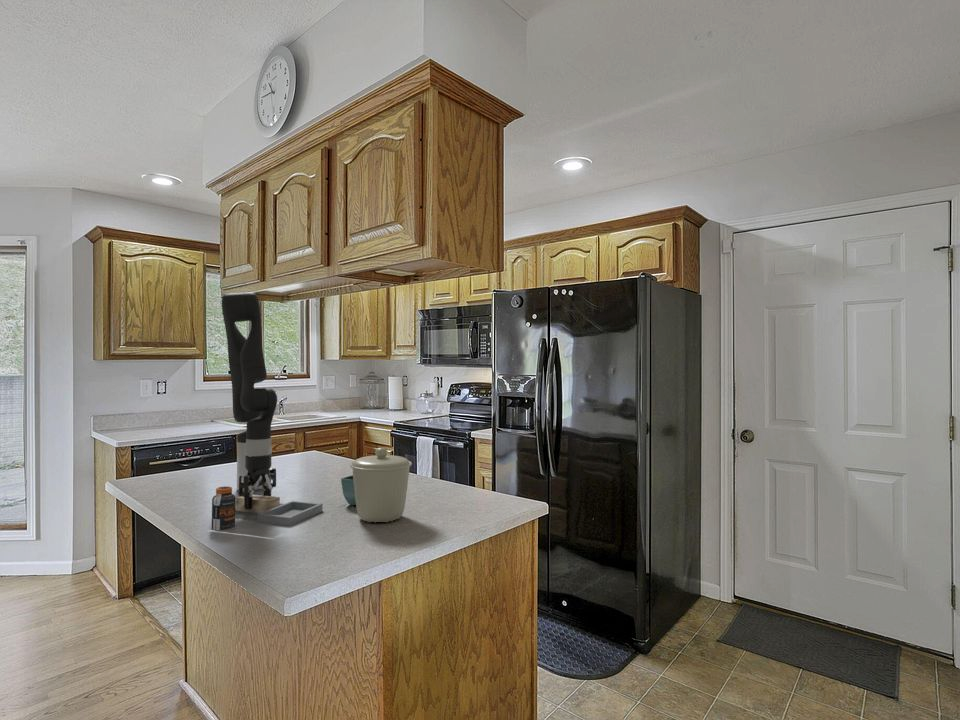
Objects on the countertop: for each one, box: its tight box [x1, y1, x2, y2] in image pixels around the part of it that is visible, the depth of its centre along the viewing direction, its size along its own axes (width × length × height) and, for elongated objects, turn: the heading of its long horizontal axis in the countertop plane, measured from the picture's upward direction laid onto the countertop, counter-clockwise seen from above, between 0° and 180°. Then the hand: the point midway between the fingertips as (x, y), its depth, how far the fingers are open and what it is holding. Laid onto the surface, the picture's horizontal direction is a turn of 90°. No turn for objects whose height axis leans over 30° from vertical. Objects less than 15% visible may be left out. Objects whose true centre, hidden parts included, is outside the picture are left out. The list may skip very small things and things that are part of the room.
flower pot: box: [340, 474, 356, 506], centre depth 179 cm, size 9×9×9 cm
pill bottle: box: [211, 485, 237, 532], centre depth 153 cm, size 6×6×11 cm
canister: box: [349, 447, 413, 524], centre depth 164 cm, size 18×18×21 cm
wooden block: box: [235, 494, 281, 513], centre depth 170 cm, size 12×5×4 cm, turn 72°
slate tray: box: [256, 500, 323, 527], centre depth 164 cm, size 16×11×3 cm
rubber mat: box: [235, 503, 284, 522], centre depth 170 cm, size 18×14×1 cm
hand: (257, 505), depth 170 cm, fingers open, 8 cm apart
